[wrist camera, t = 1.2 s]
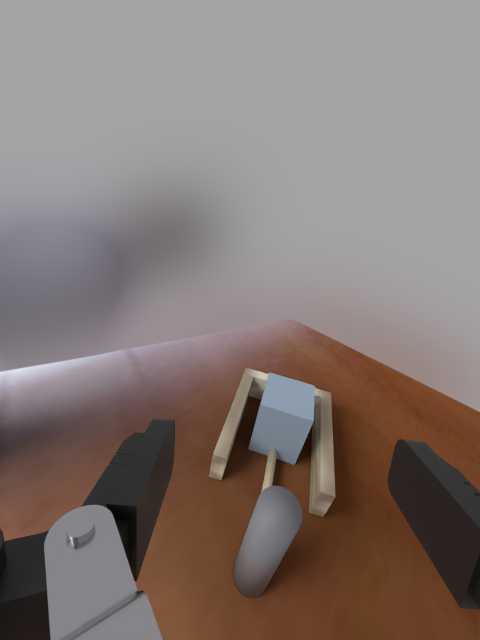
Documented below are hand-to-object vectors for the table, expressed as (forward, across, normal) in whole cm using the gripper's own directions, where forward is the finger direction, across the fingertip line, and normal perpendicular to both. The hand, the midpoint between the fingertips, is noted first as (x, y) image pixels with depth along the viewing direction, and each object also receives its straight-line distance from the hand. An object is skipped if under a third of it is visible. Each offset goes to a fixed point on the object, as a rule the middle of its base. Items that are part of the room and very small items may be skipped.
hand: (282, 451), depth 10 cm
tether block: (+18, -3, +19) cm, 26 cm away
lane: (+24, -4, +17) cm, 29 cm away
